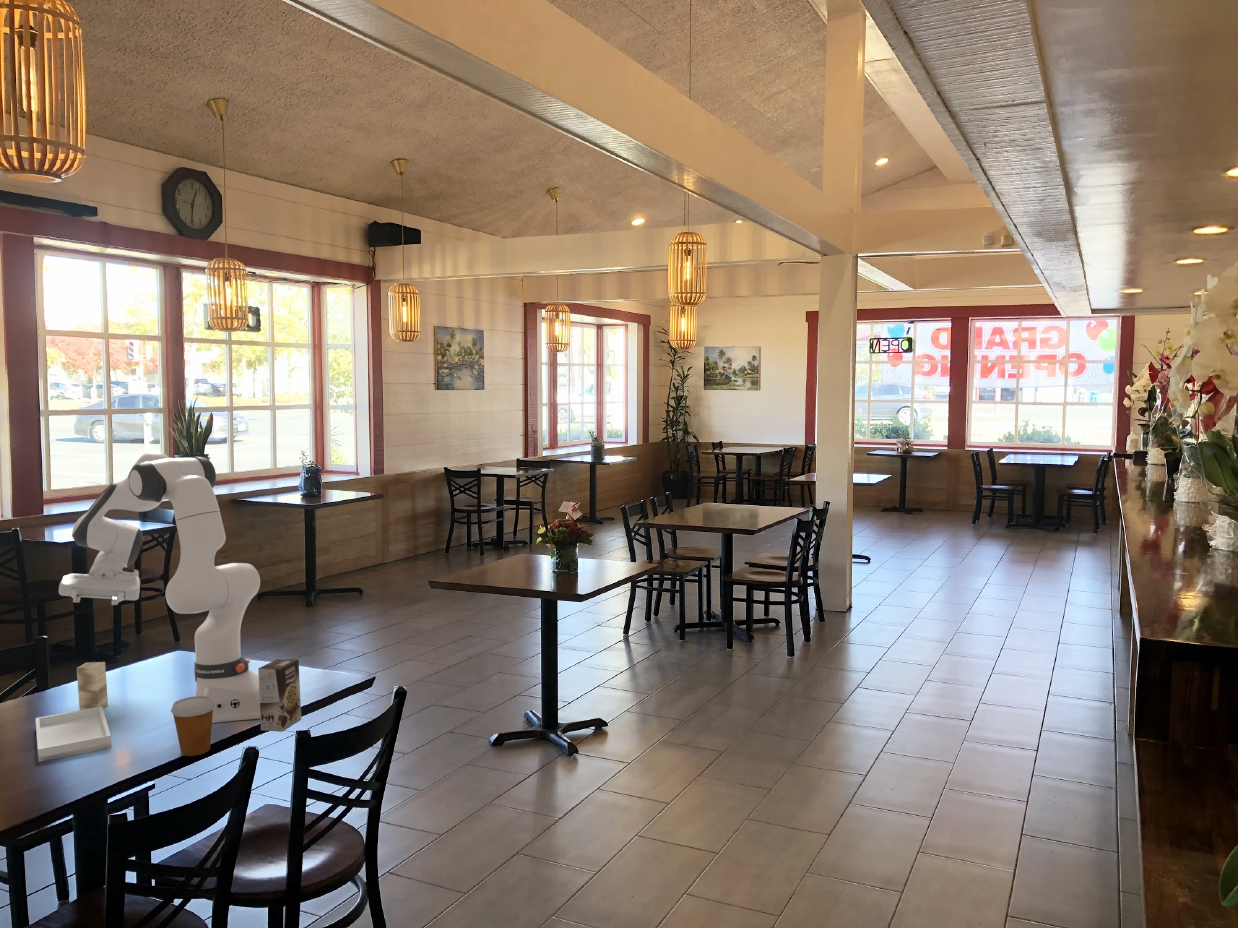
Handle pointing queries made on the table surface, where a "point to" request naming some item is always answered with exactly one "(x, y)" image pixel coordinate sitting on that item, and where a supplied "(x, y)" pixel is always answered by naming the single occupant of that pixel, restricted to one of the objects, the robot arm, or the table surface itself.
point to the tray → (72, 733)
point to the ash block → (92, 685)
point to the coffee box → (279, 694)
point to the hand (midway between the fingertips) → (95, 601)
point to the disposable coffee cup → (193, 724)
